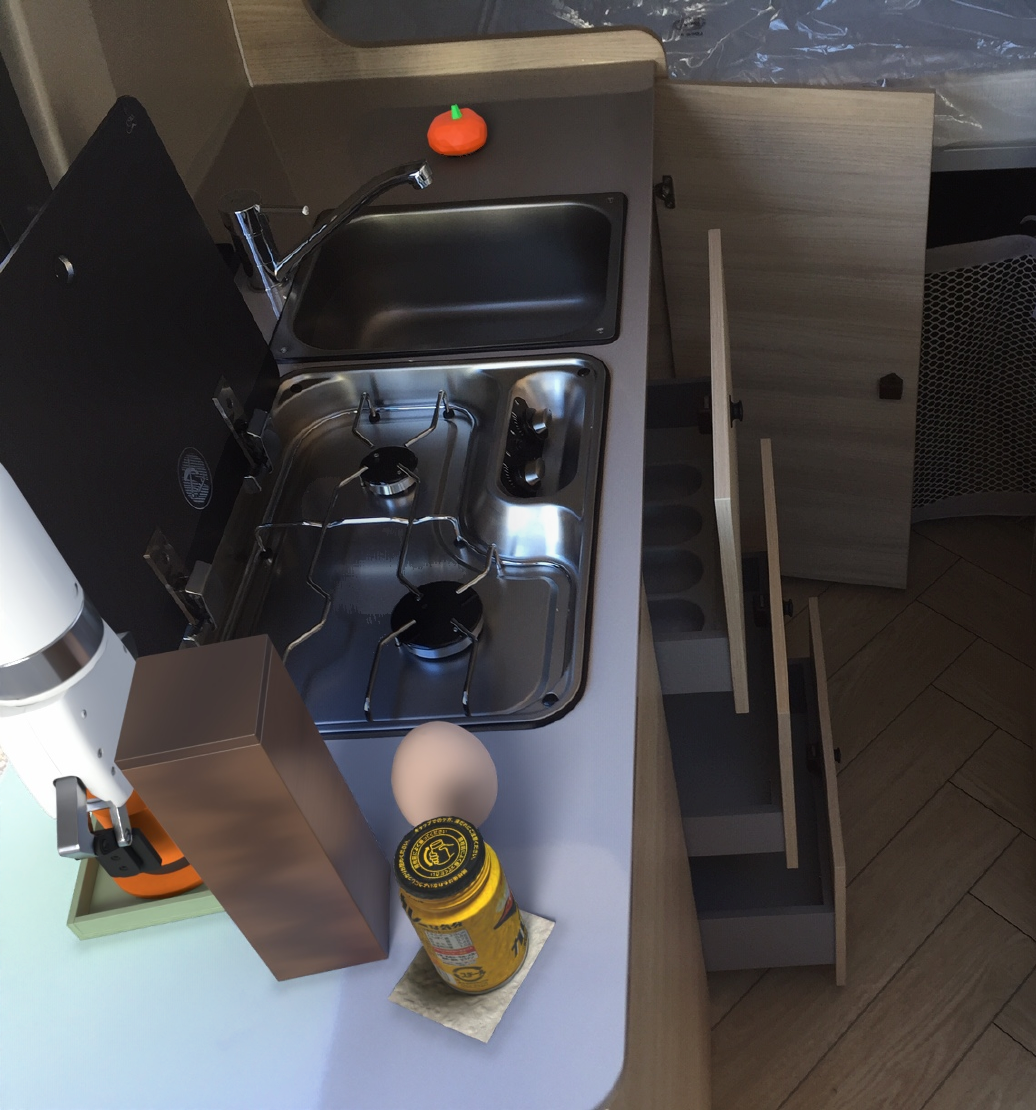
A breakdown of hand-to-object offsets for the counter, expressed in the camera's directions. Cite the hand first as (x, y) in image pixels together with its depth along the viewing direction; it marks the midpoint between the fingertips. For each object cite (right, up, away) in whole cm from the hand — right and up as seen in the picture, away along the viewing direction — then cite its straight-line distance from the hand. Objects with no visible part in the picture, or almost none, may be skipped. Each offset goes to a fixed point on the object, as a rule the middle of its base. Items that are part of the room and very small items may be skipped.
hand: (150, 807), depth 81 cm
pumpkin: (+3, +70, +77) cm, 104 cm away
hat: (0, -3, +3) cm, 4 cm away
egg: (+20, -2, +4) cm, 21 cm away
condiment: (+23, -9, -4) cm, 25 cm away
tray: (+1, -3, +4) cm, 5 cm away
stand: (+13, -7, -1) cm, 15 cm away
